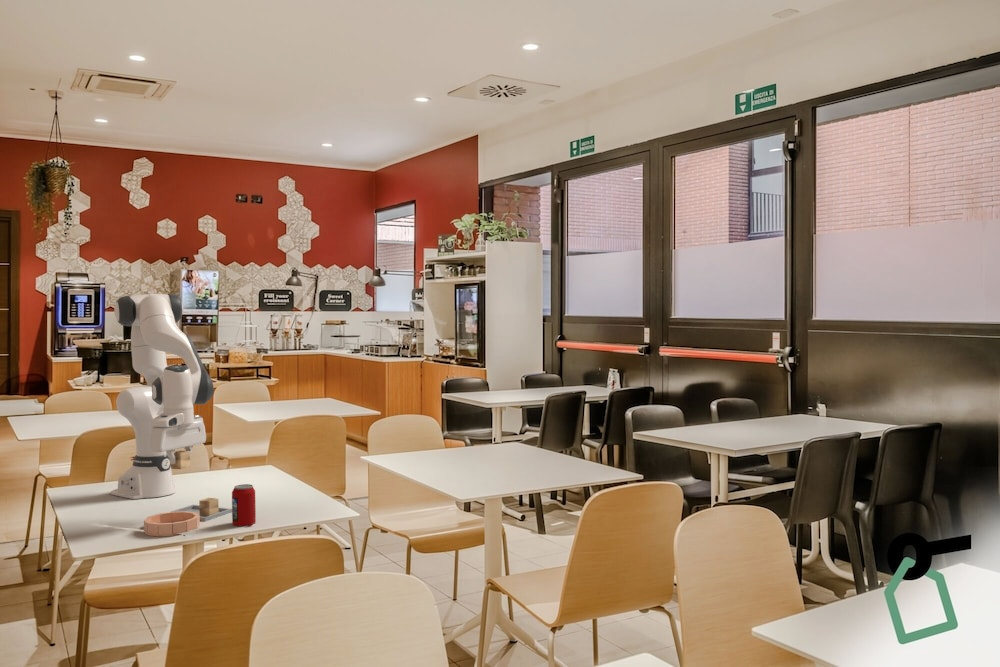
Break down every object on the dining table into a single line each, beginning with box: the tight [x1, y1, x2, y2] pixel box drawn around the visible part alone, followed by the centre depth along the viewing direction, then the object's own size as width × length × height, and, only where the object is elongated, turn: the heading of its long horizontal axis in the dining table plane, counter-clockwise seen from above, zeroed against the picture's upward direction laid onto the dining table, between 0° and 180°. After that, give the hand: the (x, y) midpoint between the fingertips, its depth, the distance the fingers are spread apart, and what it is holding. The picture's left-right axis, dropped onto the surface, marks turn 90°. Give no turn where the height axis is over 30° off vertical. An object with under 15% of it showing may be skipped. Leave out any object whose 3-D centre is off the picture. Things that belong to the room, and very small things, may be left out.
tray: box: [170, 504, 232, 522], centre depth 257 cm, size 16×12×2 cm
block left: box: [171, 450, 191, 470], centre depth 251 cm, size 4×4×5 cm
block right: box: [198, 497, 220, 517], centre depth 256 cm, size 4×4×5 cm
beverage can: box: [231, 483, 257, 528], centre depth 245 cm, size 7×7×12 cm
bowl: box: [143, 511, 201, 538], centre depth 241 cm, size 15×15×4 cm
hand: (180, 462), depth 251 cm, fingers closed on block left, 4 cm apart
